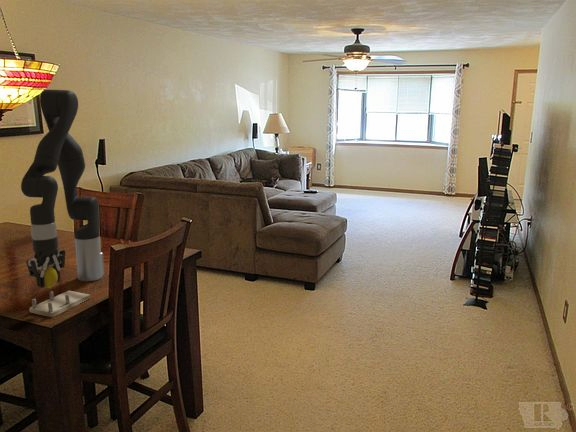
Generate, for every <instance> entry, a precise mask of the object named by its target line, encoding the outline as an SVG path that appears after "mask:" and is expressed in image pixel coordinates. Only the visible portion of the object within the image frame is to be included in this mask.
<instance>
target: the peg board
mask: <svg viewBox="0 0 576 432" xmlns="http://www.w3.org/2000/svg"><path fill="white" fill-rule="evenodd" d="M88 299H89V300H90V299H91V294H89V293H84V292H77V291H72V290H66V291H65V292H62V293H60V294H58V295H56V296H54V291H52V290H51V291H49V299H46V300H44V301H42V302H39V303H38V304H37V299H36V298H32V299H31V306H30V307H29V313H31V314H36V315H40V316H45V317H48V318H53V317H57V316H58V315H60V314H62V313H64V312H66V311H69V310H70V309H73V308H75V307H76V306H79V305H80V303H81V304H82V302H83V303H84V301H85V302H86V300H87V301H89V300H88Z"/></svg>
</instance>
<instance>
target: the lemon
mask: <svg viewBox="0 0 576 432" xmlns="http://www.w3.org/2000/svg"><path fill="white" fill-rule="evenodd" d="M43 277H44V282H45V287H44V288H48V289H51V288H53V286H55V285H56V284H57V283H58V282H57V280H58V275H57V272H56V270H55V269H54V268H53V267H51V266H50V265H49V266H47V268H46V270H45V271H44V275H43Z"/></svg>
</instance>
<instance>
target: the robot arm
mask: <svg viewBox="0 0 576 432" xmlns="http://www.w3.org/2000/svg"><path fill="white" fill-rule="evenodd" d="M39 95H40V96H39V104H40V109H41V113H42V115H43V118H44V120H45V123H46V126H47V130H48V132H47V133H46V134H45V135H44V136H43V137H42V138H41V139H40V140H39V143H38V145H37V147H36V150H35V155H34V158H33V162H32V163H31V165H30V166H29V168H28V170H27V171H26V172H25V174H24V176H23V178H22V180H21V183H20V189H21V192H22V194H23V195H24V196H25V197H27V198H42V200H41V203H38V204H33V205H32V206H30V209H29V215H30V235H31V242H32V243H31V244H32V245H31V246H32V251H33V252H34V255H33V256H34V257H33V258H31V259H27V260H26V261H25V263H26V265H27V269H28V273H29V276H30V277H33V278H35V279H36V286H37V287H38V288H41V289H44V288H46V287H45V282H44V277H43V275H44V271H45V270H46V268H47V266H49V267H53V268H54V269H55V270H56V272H57V275H58V280H57V282H56V283H59V282H60V281H61V269H62V268H63V269H64V268H65V266H66V265H65V264H66V250H64V249H59V241H58V230H57V224H56V217H55V207H56V200H57V195H58V190H59V185H58V181H57V180H56V178H55V177H53V176H51V175H46V174H49V173H50V174H51V173H54V172H55V171H57V168H58V170H59V175H60V178H61V181H62V186H63V192H64V198H65V204H66V211H67V214H68V217H69V218H70V219H71V220H72V221H87V223H86V225H84V226H82V227H79V228H77V229H75V230H74V234H73V235H74V246H75V247H74V248H75V257H76V259H75V260H76V269H77V270H76V271H77V280H79V281H80V282H94V281H97V280H100V279H102V278H103V276H105V266H104V254H103V252H102V251H101V239H100V237H101V236H100V234H101V233H100V229H101V228H100V226H101V225H100V203H99V200H98V199H97V197H95V196H79V195H78V192H77V190H78V189H77V187H78V184H79V181H80V180H81V178H82V176H83V174H84V172H85V169H86V163H85V158H84V154H83V150H82V147H81V146H80V143H78V142H77V141H76V140H75V139H74V137H73V136H72V135H71V134H70V129H71V128H72V125H73V123H74V121H75V118H76V116H77V113H78V110H79V99H78V97H77V94H76V92H74V91H72V90H70V89H69V90H67V89H43V90H42V91H41V93H40V94H39Z"/></svg>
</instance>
